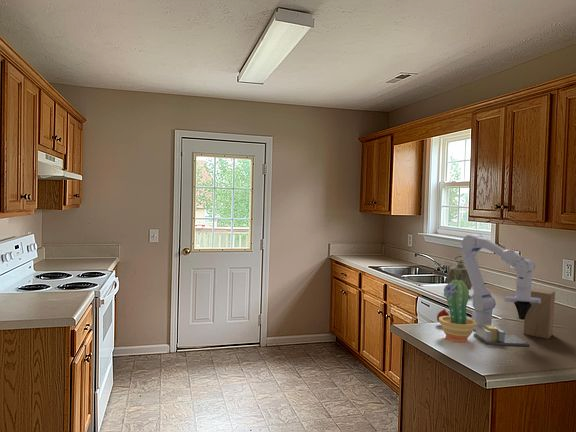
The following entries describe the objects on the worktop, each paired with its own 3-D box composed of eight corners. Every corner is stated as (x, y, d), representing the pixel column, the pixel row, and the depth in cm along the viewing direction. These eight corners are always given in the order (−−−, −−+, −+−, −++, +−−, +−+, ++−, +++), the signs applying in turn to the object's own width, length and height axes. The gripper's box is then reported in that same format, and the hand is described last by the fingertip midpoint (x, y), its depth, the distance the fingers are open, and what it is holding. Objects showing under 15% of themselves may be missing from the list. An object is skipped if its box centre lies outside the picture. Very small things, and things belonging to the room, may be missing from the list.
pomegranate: (434, 325, 213) (435, 308, 213) (440, 323, 217) (441, 306, 217) (446, 328, 209) (447, 310, 209) (451, 326, 213) (452, 309, 213)
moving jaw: (488, 334, 197) (488, 325, 197) (492, 334, 197) (493, 325, 197) (499, 341, 187) (500, 331, 187) (504, 341, 187) (504, 332, 187)
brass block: (482, 336, 195) (483, 324, 194) (490, 336, 195) (491, 324, 195) (489, 340, 189) (490, 328, 188) (497, 340, 189) (498, 328, 189)
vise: (473, 335, 198) (474, 324, 198) (514, 337, 198) (514, 326, 198) (486, 344, 186) (486, 332, 186) (529, 346, 186) (530, 334, 186)
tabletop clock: (469, 294, 293) (471, 255, 292) (472, 297, 284) (475, 257, 283) (445, 292, 295) (448, 254, 294) (448, 295, 286) (451, 256, 285)
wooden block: (528, 330, 212) (530, 287, 211) (552, 334, 205) (555, 291, 205) (523, 334, 204) (525, 290, 203) (548, 339, 198) (551, 293, 197)
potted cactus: (434, 332, 201) (437, 276, 200) (470, 334, 199) (473, 278, 198) (441, 343, 186) (445, 282, 185) (481, 345, 184) (484, 284, 183)
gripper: (511, 288, 188) (509, 320, 189) (545, 290, 189) (543, 322, 189) (503, 285, 196) (501, 316, 196) (536, 286, 196) (534, 317, 196)
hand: (521, 319), depth 193 cm, fingers closed
